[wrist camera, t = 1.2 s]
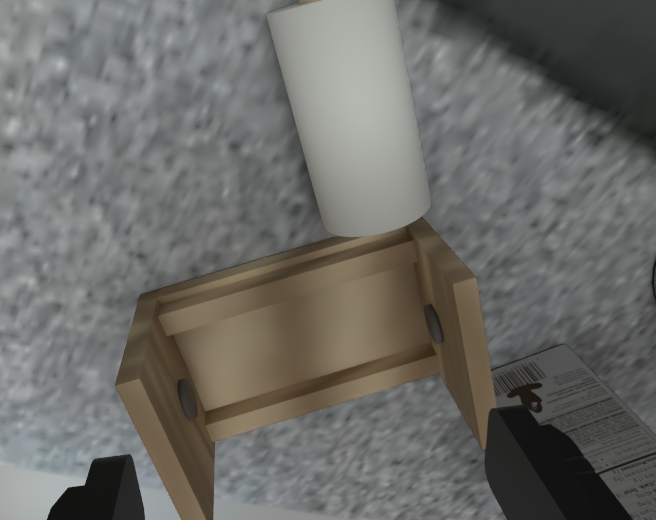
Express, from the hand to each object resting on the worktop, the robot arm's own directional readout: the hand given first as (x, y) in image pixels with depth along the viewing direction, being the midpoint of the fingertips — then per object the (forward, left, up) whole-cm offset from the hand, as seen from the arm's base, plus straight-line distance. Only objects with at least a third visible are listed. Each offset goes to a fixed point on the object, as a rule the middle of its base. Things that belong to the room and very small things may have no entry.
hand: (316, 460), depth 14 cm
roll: (-5, -4, -16) cm, 17 cm away
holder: (0, +7, -18) cm, 20 cm away
